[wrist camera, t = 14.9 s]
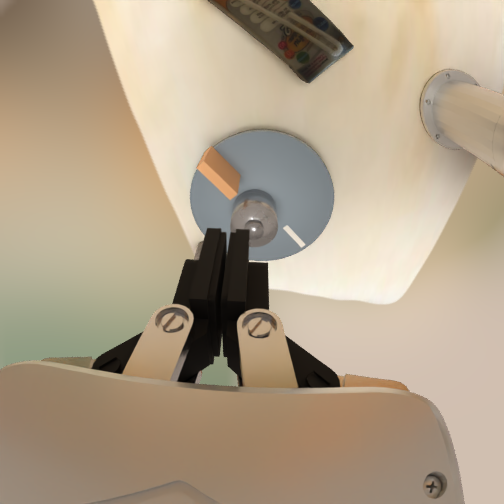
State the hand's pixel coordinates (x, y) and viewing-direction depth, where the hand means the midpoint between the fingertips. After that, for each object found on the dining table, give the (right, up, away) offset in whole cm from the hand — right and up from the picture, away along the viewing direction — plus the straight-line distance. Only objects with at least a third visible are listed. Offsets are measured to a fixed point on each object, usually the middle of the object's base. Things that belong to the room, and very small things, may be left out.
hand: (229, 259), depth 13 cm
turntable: (+2, +8, +31) cm, 33 cm away
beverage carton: (+3, +30, +18) cm, 35 cm away
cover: (+1, +6, +31) cm, 32 cm away
